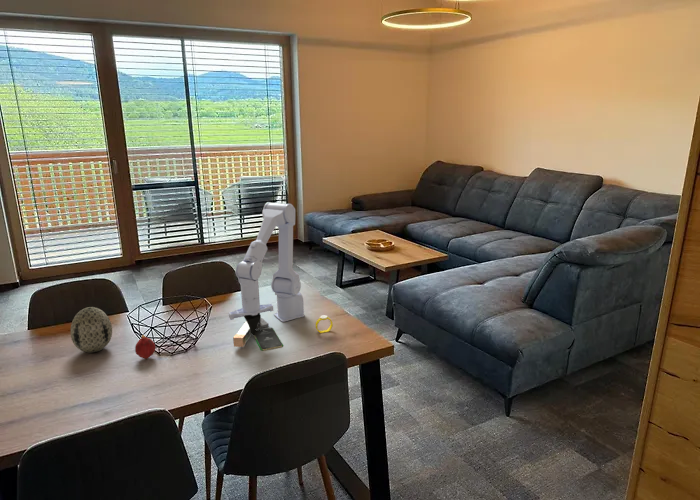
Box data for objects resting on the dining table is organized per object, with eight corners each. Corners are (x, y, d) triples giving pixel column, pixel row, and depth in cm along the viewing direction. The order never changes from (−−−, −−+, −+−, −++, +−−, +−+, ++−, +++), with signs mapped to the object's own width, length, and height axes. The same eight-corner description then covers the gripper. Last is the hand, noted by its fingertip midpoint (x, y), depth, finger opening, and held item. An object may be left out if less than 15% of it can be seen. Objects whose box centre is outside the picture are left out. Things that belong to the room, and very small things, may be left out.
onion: (160, 355, 150) (157, 332, 147) (147, 364, 144) (144, 341, 142) (145, 352, 151) (142, 330, 149) (132, 361, 146) (129, 338, 144)
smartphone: (261, 349, 152) (251, 330, 165) (261, 352, 152) (251, 333, 166) (283, 345, 155) (272, 326, 168) (283, 347, 155) (272, 329, 168)
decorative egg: (96, 339, 160) (89, 299, 156) (123, 345, 157) (116, 303, 152) (65, 356, 150) (57, 312, 145) (94, 362, 146) (86, 317, 142)
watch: (317, 335, 163) (316, 320, 161) (315, 332, 166) (313, 317, 164) (334, 331, 165) (332, 316, 164) (331, 328, 168) (329, 313, 166)
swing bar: (261, 320, 171) (261, 312, 170) (243, 347, 152) (242, 338, 151) (253, 320, 172) (252, 312, 171) (233, 346, 152) (233, 337, 151)
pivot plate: (262, 320, 175) (261, 318, 174) (268, 326, 170) (268, 323, 170) (244, 325, 171) (243, 322, 171) (250, 331, 166) (250, 328, 166)
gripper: (231, 305, 147) (235, 344, 151) (275, 296, 154) (277, 334, 157) (225, 297, 153) (229, 335, 157) (268, 289, 159) (270, 326, 163)
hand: (253, 334), depth 157 cm, fingers closed
